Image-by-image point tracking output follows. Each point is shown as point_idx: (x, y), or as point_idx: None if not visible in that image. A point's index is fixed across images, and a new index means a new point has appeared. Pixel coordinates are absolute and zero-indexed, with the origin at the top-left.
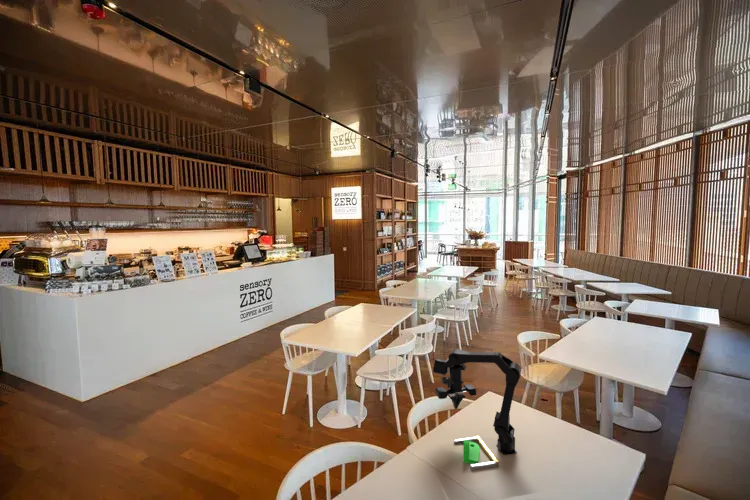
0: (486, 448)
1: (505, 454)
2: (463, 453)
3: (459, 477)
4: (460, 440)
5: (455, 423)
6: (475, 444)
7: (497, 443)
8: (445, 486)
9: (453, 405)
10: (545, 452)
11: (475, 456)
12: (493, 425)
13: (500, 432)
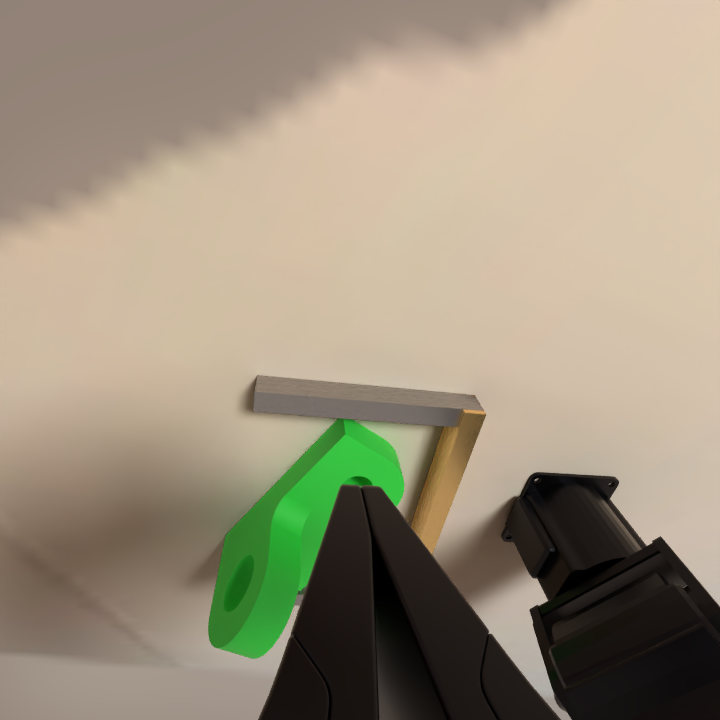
0: (430, 528)
1: (510, 541)
2: (215, 591)
3: (146, 606)
4: (305, 414)
5: (456, 92)
6: (388, 484)
7: (531, 523)
8: (41, 633)
9: (325, 530)
10: (702, 561)
11: (309, 562)
12: (570, 700)
13: (555, 698)
